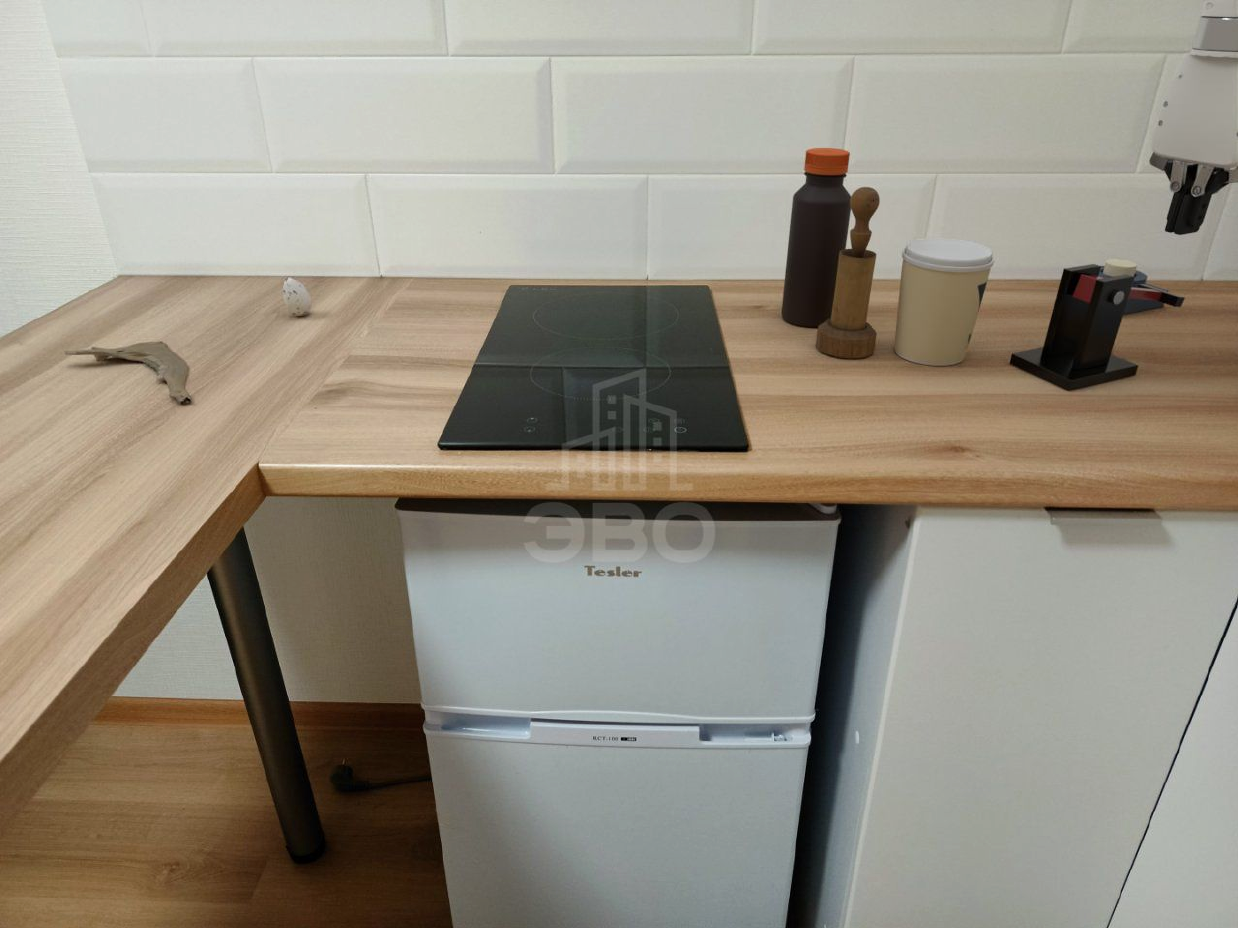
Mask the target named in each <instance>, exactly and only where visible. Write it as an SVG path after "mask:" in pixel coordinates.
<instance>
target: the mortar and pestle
mask: <svg viewBox="0 0 1238 928" xmlns="http://www.w3.org/2000/svg"><path fill="white" fill-rule="evenodd" d="M880 200H881V198H880V194H879V193H878V191H877V190H876V189H875V188H873V187H870V186H862V187H858V188H857V189H855V191H854V192H853V193H852V195H851V199H850V206H851V212H852V215H853V217H854V219H855V223H854V226H853V228H851V229H850V230H849V237H850V245H851V248H846V249H844V250H841V251H840V253H839V261H838V270H837V278H836V285H835V293H834V300H833V307H832V314H831V318H830V319H828V320H826V321H825V322H824V323H822V324H820V325H819V327H817V331H816V338H815V347H816V349H817V350H818V351H819V352H821V353H823V354H825V355H828V356H833V357H836V358H841V359H863V358H867V357H870V356H871V355H873V354H874V352H875V349H876V342H877V341H876V340H877V331H876V329H875V328H873V327H872V325H871V324H870V323H869V322H867V320H868V313H869V305H870V298H871V292H872V285H873V279H874V272H875V267H876V260H877V253H876V252H875V251H872V250H869V249H867V248H868V245H869V243H870V240H871V237H872V235H873V231H872V230H871V229H870V221H871V219H872V217H873V216H874V215H875V213H876V211H877V210H878V208H879V206H880V202H881V201H880Z"/></svg>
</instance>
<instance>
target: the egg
mask: <svg viewBox="0 0 1238 928" xmlns="http://www.w3.org/2000/svg"><path fill="white" fill-rule="evenodd" d="M282 297H283V302H284V306H285V308H286V309H287V311H289V313H291V314H292V315H293V316H298V317H303V316H306V315H308V314H309V313H310V311H311V309H312V298H311V295H310V294H309V291H308V290H307V288H306V287H305V286H304V285H303V284H302V283H301V282H300V281H298V280H295V279H294V278H292V277H290V276H289V277H286V278H285V280H284V281H283V287H282Z"/></svg>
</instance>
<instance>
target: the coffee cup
mask: <svg viewBox="0 0 1238 928" xmlns="http://www.w3.org/2000/svg"><path fill="white" fill-rule="evenodd" d="M993 255H994V253H993V251H992V249H991V248H989V247H988V246H985V245H983V244H981V243H977V242H976V241H975V242H974V241H969V240H966V239H965V240H964V239H958V238H949V237H926V238H918V239H914V240H911V241H909V242H908V243H906V246H905V248H903V250H902V253H901V257H902V265H901V272H900V274H901V275H900V281H899V292H898V303H897V313H896V324H895V333H894V352H895V354H896V355H897V356H898V357H900V358H902V359H904V360H906V361H909V362H912V363H915V364H920V365H924V366H934V367H945V366H946V367H947V366H954V365H957V364H959V363H961V362H963V361H964V359H965V358H966V354H967V351H968V349H969V345H970V342H971V340H972V339H971V338H972V335H973V333H974V329H975V325H976V322H977V319H978V315H979V312H980V309H981V304H982V301H983V297H984V294H985V291H986V288H987V283H988V279H989V276H990V272H991V268H992V267H993V266H994V263H995V257H994V256H993Z"/></svg>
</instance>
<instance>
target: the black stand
mask: <svg viewBox="0 0 1238 928" xmlns="http://www.w3.org/2000/svg"><path fill="white" fill-rule="evenodd" d="M1101 266H1102V265H1099V264H1095V263H1092V264H1084V265H1078V266H1071V267H1065V268H1063V269H1062V273H1061V278H1060V282H1059V284H1058V289H1057V293H1056V296H1055V299H1054V303H1053V309H1052V312H1051V316H1050V320H1049V323H1048V327H1047V331H1046V334H1045V339H1044V343H1043V346H1042V347H1037V348H1033V349H1028V350H1022V351H1017V352H1012V353H1011V355H1010V359H1009V365H1012V366H1014V367H1015V368H1019V369H1020V370H1023V371H1025V372H1027V373H1029V374H1031V375H1033V376H1035V377H1038V378H1039V379H1041V380H1044V381H1047V382H1048V383H1050V384H1052V385H1055V386H1057V387H1059V388H1061V389H1064V390H1065V391H1068V392H1069V391H1074V390H1079V389H1083V388H1086V387H1091V386H1095V385H1100V384H1103V383H1109V382H1112V381H1116V380H1121V379H1126V378H1131V377H1135V376H1136V375H1137V372H1138V369H1139V364H1137V363H1136V362H1132V361H1130V360H1127V359H1124V358H1122V357H1120V356H1117V355H1115V354H1112V353H1113V349H1114V347H1115V343H1116V340H1117V337H1118V334H1119V330H1120V327H1121V323H1122V320H1123V317H1124V315H1125V314H1124V310H1125V307H1126V304H1127V301H1128V297H1129V294H1130V291H1131V287H1132V284H1133V281H1134V276H1130V275H1127V274H1126V275H1120V276H1114V277H1109V278H1103V279H1097V280H1096V283H1095V286H1094V290H1093V293H1092V297H1091V300H1090V303H1088V302H1085V301H1082V300H1080V299H1077V298H1074V297H1072V296H1073V294H1074V291H1075V289H1076V286H1077V284H1078V281H1079V279H1080V276H1081V275H1091V276H1099V272H1100V269H1101ZM1123 314H1124V315H1123Z"/></svg>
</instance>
